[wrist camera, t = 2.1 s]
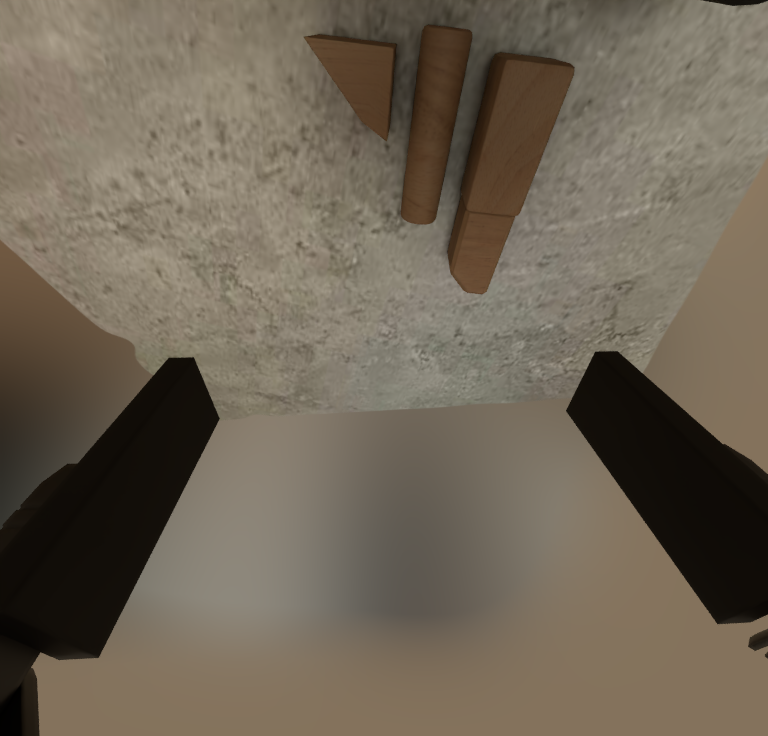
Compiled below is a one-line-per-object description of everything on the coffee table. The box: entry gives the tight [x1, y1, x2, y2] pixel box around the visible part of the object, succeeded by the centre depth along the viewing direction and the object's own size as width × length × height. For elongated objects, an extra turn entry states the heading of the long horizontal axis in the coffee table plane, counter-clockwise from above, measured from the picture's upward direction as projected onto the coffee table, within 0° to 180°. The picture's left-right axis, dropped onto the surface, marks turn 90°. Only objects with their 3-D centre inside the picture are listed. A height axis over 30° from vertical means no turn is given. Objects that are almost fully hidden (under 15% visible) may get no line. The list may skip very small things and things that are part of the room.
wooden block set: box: [304, 25, 574, 294], centre depth 27 cm, size 17×6×18 cm
